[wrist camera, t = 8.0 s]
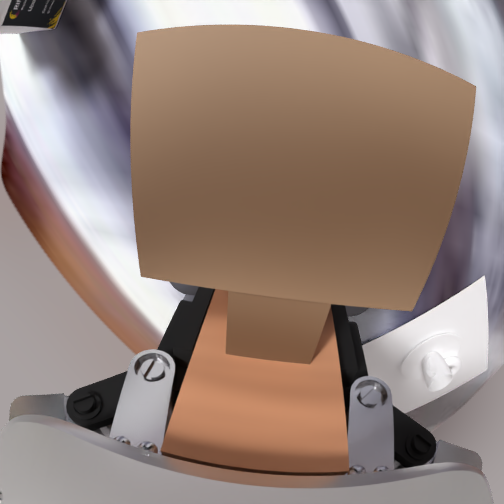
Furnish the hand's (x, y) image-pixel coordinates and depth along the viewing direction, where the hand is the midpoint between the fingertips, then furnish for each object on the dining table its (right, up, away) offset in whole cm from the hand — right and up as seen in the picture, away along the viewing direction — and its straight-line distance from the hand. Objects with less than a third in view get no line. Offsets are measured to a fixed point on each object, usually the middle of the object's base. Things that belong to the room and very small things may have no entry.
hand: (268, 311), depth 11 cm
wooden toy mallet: (0, -2, +2) cm, 3 cm away
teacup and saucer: (+20, -12, +17) cm, 28 cm away
